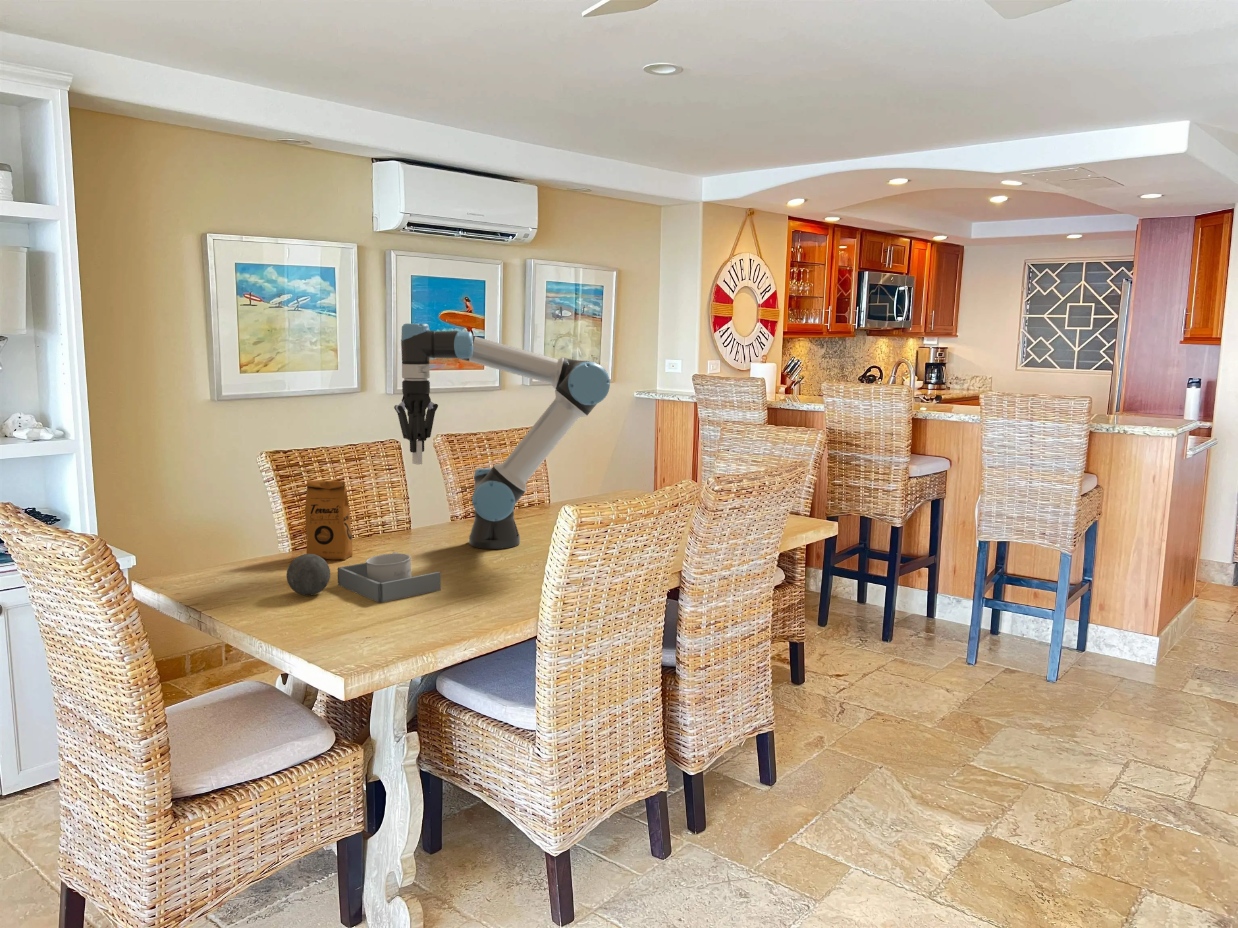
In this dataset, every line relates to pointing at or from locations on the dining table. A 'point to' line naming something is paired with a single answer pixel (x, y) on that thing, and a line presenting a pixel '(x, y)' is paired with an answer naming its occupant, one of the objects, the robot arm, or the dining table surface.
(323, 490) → the coffee package
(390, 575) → the teacup
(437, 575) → the box
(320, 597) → the dining table surface
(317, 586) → the decorative ball
